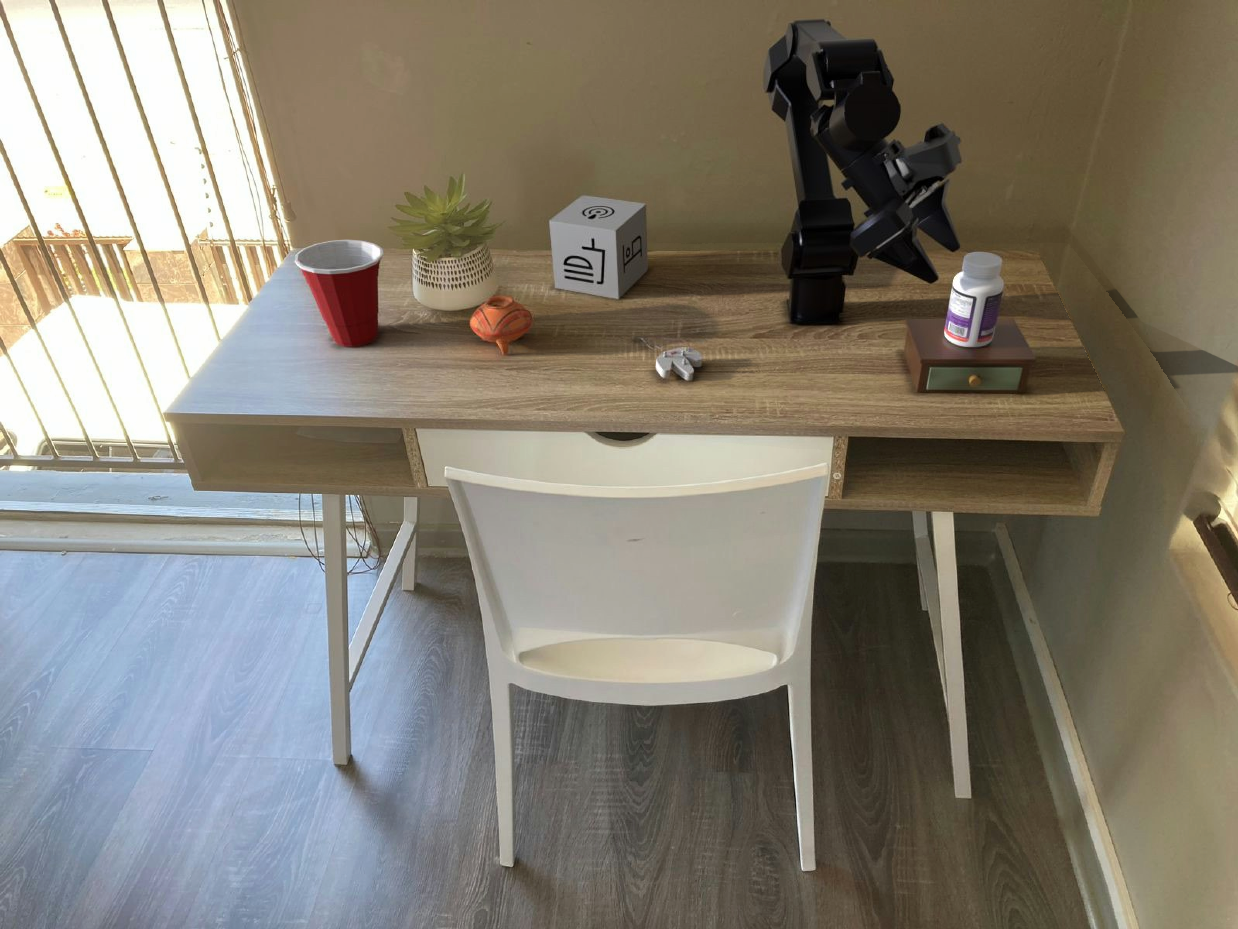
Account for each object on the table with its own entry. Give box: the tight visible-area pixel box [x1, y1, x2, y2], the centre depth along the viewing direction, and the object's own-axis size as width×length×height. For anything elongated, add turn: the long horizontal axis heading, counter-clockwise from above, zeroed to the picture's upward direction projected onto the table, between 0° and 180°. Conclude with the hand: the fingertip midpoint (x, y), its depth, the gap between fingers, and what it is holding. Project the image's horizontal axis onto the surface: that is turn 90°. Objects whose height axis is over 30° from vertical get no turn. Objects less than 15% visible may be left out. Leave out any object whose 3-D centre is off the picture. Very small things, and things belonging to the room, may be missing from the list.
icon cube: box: [548, 194, 649, 300], centre depth 133 cm, size 10×10×10 cm
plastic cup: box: [294, 239, 384, 348], centre depth 121 cm, size 11×11×12 cm
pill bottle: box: [944, 251, 1005, 347], centre depth 106 cm, size 5×5×10 cm
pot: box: [469, 295, 534, 356], centre depth 120 cm, size 8×8×7 cm
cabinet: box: [903, 318, 1037, 394], centre depth 110 cm, size 13×10×5 cm
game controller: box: [637, 337, 703, 381], centre depth 115 cm, size 6×12×3 cm, turn 49°
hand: (946, 265), depth 106 cm, fingers open, 9 cm apart
